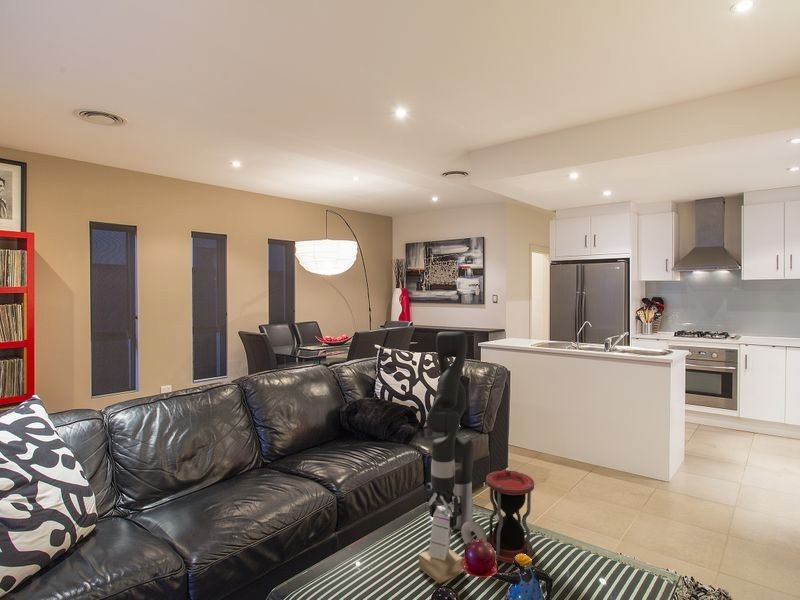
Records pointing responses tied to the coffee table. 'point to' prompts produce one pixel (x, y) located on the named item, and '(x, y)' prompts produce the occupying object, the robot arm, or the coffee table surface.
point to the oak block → (440, 566)
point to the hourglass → (509, 514)
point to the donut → (475, 528)
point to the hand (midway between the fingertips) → (442, 521)
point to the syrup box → (440, 534)
